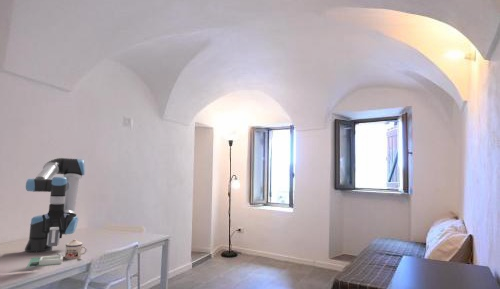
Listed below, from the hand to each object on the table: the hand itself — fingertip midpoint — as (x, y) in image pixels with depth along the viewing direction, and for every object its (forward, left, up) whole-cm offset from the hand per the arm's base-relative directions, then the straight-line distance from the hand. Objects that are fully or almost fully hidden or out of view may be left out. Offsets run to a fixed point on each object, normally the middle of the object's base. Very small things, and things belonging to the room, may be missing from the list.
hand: (52, 244), depth 182 cm
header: (0, 0, -10) cm, 10 cm away
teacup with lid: (-9, +12, -12) cm, 19 cm away
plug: (0, 0, -1) cm, 1 cm away
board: (-3, -3, -11) cm, 12 cm away
